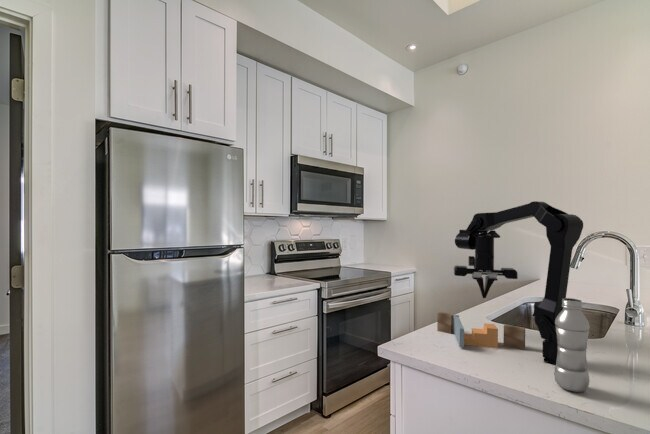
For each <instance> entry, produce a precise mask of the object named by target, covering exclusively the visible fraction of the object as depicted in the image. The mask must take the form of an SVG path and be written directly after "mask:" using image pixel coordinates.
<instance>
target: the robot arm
mask: <svg viewBox="0 0 650 434" xmlns="http://www.w3.org/2000/svg"><path fill="white" fill-rule="evenodd" d="M530 218H535V219H536V221H537V222H538V223H539V224H540V225H542V226H543V227H545V232H546V239H547V240H548V241H547V242H548V243H549V245H550V250H549V251H550V252H549V258H548V264H547V265H548V267H547V273H546V282H545V283H546V284H545V289H544V297H543V298H542V300H540V301H534V305H533V306H534V307H533V308H534V309H533V314H532V315H531V316H532V317H534V323H535V325H536V327H537V329H538V332H539V335H540V337H541V339H543V341H542V358H543V362H544V363H548V364H553V365H556V361H557V352H558V347H557V346H558V344H557V333H556V325H555V319H556V317H557V316H558V314H559V313H560V312H561V311H562V310H563V307H562V299H563V298H567V291H568V285H569V277H570V270H571V261H572V254H573V250H574V247H575V245H577V242H578V241H579V239H580V237H581V235H582V231H583V230H584V229H583V228H584V222H583V220H582V219H581V218H580V217H579V216H578V215H575V214H570V213H568V212H565V211H563V210H561V209H559V208H556V207H553V206H552V205H550V204H548V203H547V202H545V201H537V200H536V201H535V200H534V201H531V202H529V203H526V204H522V205H518V206H515V207H510V208H507V209H504V210H501V211H495V212H478V213H475V214H474V215H473V218H472V220H471V221H470V223H469V224H468V226H467V228H466V229H459V232H458V233H457V234H456V236H455V239H454V244H455V246H456V248H458V249H462V250H473V251H474V256H473V255H472V256H471V255H469V256H468V260H467V261H468V267H473V268H468V267H467V266H466V265H455V266H454V267H453V274H454V276H455V277H457V276H458V277H466V276H467V275H471V278H472V279H473V280H475V281H476V282H477V284H478V287H479V291H480V294H481V296H482V299H486V298H487V296H488V293H489V291H490V289H491V287H492V285H493V284H494V282H496V281H498V278H497V277H498V276H500V277H501V276H502V277H504V278H506V279H509V280H510V279H511V280H512V279H513V280H518V271H517V270H516V269H514V267H513V268H512V267H501V268H500V269H495V239H501V236H500V234H499V233H498V232H497V231H496V230H497V229H499V228H501V227H502V226H504V225H505V224H509V223H513V222H517V221H521V220H526V219H530ZM482 275H483V276H485V277H483V276H482ZM484 278H485V280H484Z"/></svg>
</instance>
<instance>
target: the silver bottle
mask: <svg viewBox="0 0 650 434" xmlns="http://www.w3.org/2000/svg"><path fill="white" fill-rule="evenodd" d="M562 307H563V310H562V311H561V312H560V313H559V314H558V316H557V317H556V319H555V325H556V333H557V344H558V346H557V347H558V352H557V361H556V364H554V365H555V366H554V372H553V376H554V381H555V382H556V384H557V385H558V386H559V387H560V388H562V389H564V390H567V391H571V392H576V393H582V392H585V391H587V390H588V388H589V385H590V375H589V371H588V364H587V363H588V362H587V349H588V347H587V346H588V338H589V335H590V334H589V333H590V328H591V326H590V323H589V320H588V318H587V317H586V316H585V315H584V313H583V312H582V310H583V302H582V300H581V299H577V298H572V297H566V298H563V299H562Z"/></svg>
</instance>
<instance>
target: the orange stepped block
mask: <svg viewBox="0 0 650 434" xmlns="http://www.w3.org/2000/svg"><path fill="white" fill-rule="evenodd" d="M465 345H467V346H474V347H475V346H476V347H485V348H486V347H487V348H495V349H498V348H499V328H498V327H497V325H495V324H494V323H484V322H483V328H476V327H472V328H471V334H469V333H464V346H465Z"/></svg>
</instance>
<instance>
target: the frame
mask: <svg viewBox="0 0 650 434" xmlns="http://www.w3.org/2000/svg"><path fill="white" fill-rule="evenodd" d="M453 315H454V314H453V313H447V312H441V311H438V312H437V328H436V330H437V332H441V333H442V332H443V333H445V334H451V335H452V334H454V333H453ZM503 347H508V348H512V349H513V348H514V349H518V350H522V351H525V349H526V327H523V326H517V325H511V324H507V323H505V324H504V325H503Z"/></svg>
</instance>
